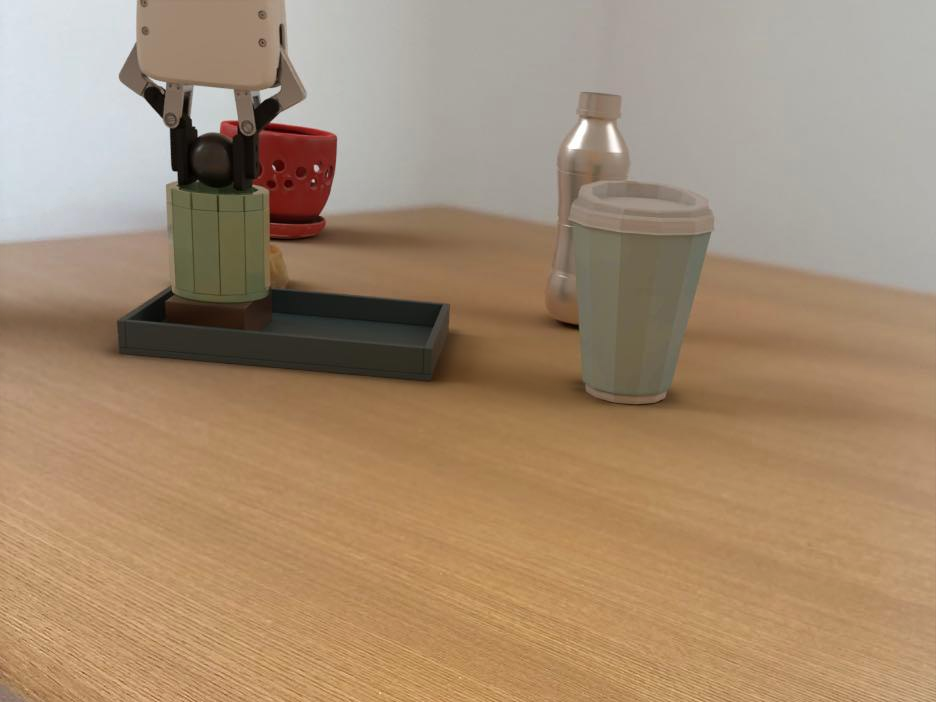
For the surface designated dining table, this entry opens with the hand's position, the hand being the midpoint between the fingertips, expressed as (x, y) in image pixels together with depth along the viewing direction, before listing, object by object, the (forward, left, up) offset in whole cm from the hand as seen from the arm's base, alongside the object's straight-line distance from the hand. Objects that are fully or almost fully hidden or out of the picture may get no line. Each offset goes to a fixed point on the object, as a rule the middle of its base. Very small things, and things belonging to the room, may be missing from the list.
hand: (215, 183), depth 86 cm
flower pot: (-6, +47, -12) cm, 49 cm away
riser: (0, 0, -12) cm, 12 cm away
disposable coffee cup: (+32, -6, -12) cm, 35 cm away
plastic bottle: (+29, +15, -12) cm, 35 cm away
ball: (0, 0, +2) cm, 2 cm away
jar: (0, 0, -8) cm, 8 cm away
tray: (+6, 0, -12) cm, 13 cm away
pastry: (-3, +18, -12) cm, 22 cm away
